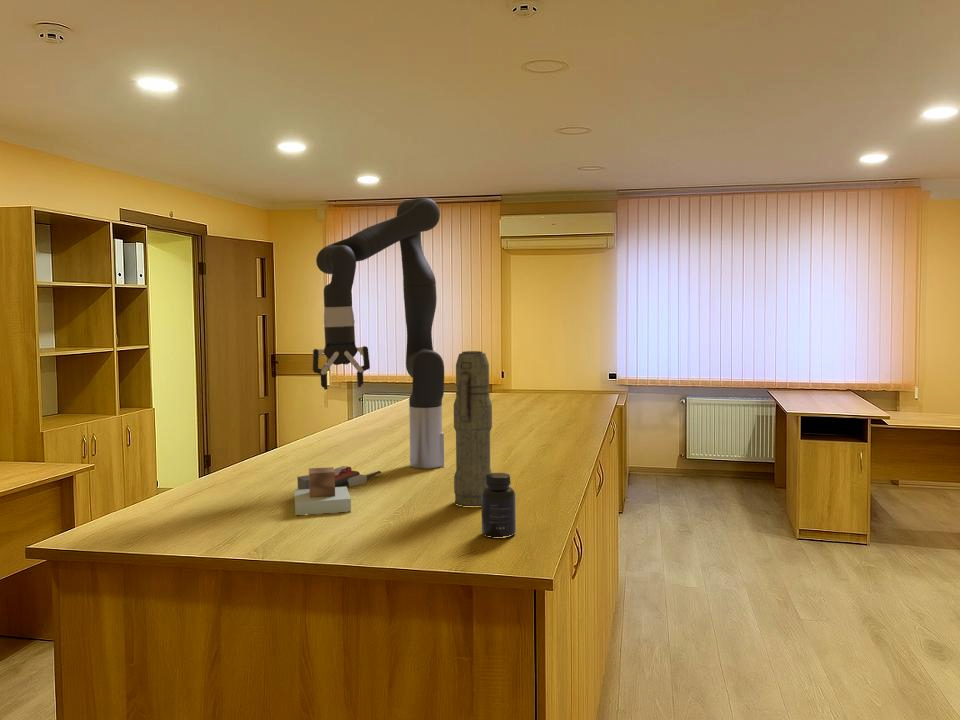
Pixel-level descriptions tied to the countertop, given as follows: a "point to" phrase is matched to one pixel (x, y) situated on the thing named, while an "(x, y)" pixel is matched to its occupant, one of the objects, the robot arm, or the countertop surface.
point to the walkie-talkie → (350, 477)
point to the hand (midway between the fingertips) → (342, 388)
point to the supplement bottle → (498, 506)
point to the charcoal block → (303, 482)
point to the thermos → (472, 427)
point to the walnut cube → (321, 482)
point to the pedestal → (322, 502)
